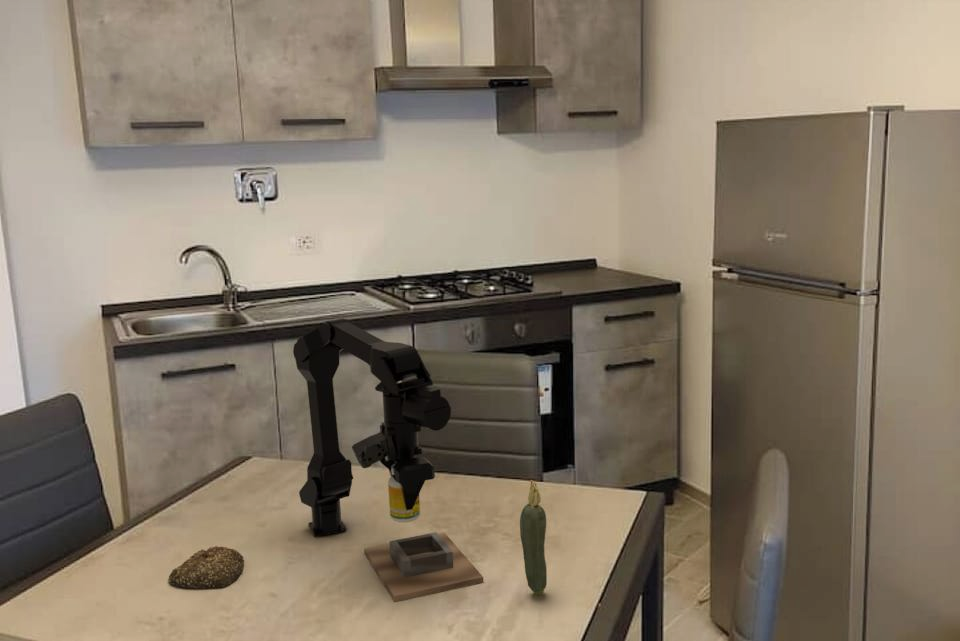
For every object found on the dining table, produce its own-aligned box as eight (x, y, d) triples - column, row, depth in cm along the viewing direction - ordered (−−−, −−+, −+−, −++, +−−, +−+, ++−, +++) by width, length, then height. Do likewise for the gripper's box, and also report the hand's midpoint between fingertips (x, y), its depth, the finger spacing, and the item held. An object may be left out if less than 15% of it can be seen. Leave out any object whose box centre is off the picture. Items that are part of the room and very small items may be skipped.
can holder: (364, 553, 164) (363, 533, 163) (444, 537, 170) (443, 517, 169) (394, 601, 146) (393, 579, 145) (483, 582, 151) (482, 560, 151)
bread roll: (226, 593, 151) (223, 567, 150) (160, 589, 153) (157, 563, 152) (257, 560, 163) (255, 535, 162) (196, 556, 165) (194, 532, 164)
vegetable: (545, 603, 144) (543, 488, 140) (519, 601, 145) (517, 487, 141) (549, 590, 148) (547, 478, 144) (523, 588, 149) (521, 477, 145)
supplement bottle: (393, 510, 158) (390, 460, 156) (422, 511, 157) (420, 460, 156) (387, 523, 153) (384, 470, 151) (417, 523, 152) (414, 470, 150)
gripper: (343, 410, 157) (348, 492, 160) (367, 440, 140) (372, 531, 143) (403, 403, 161) (407, 483, 164) (433, 431, 144) (437, 520, 147)
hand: (404, 503), depth 154 cm, fingers closed on supplement bottle, 5 cm apart
